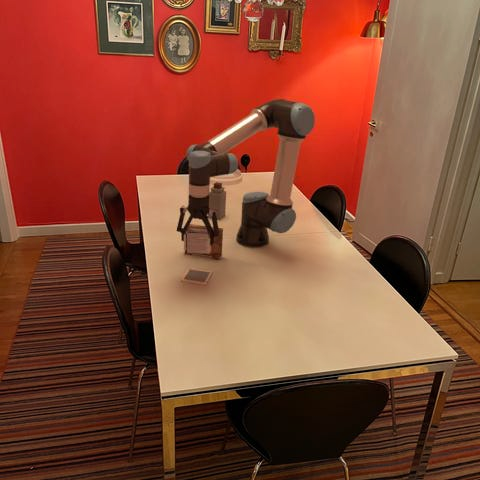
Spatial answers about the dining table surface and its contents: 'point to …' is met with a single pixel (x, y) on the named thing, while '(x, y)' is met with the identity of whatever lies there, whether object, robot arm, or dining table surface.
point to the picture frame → (196, 276)
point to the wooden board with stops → (215, 248)
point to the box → (197, 240)
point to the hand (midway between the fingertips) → (197, 250)
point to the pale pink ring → (228, 179)
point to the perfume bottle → (217, 200)
